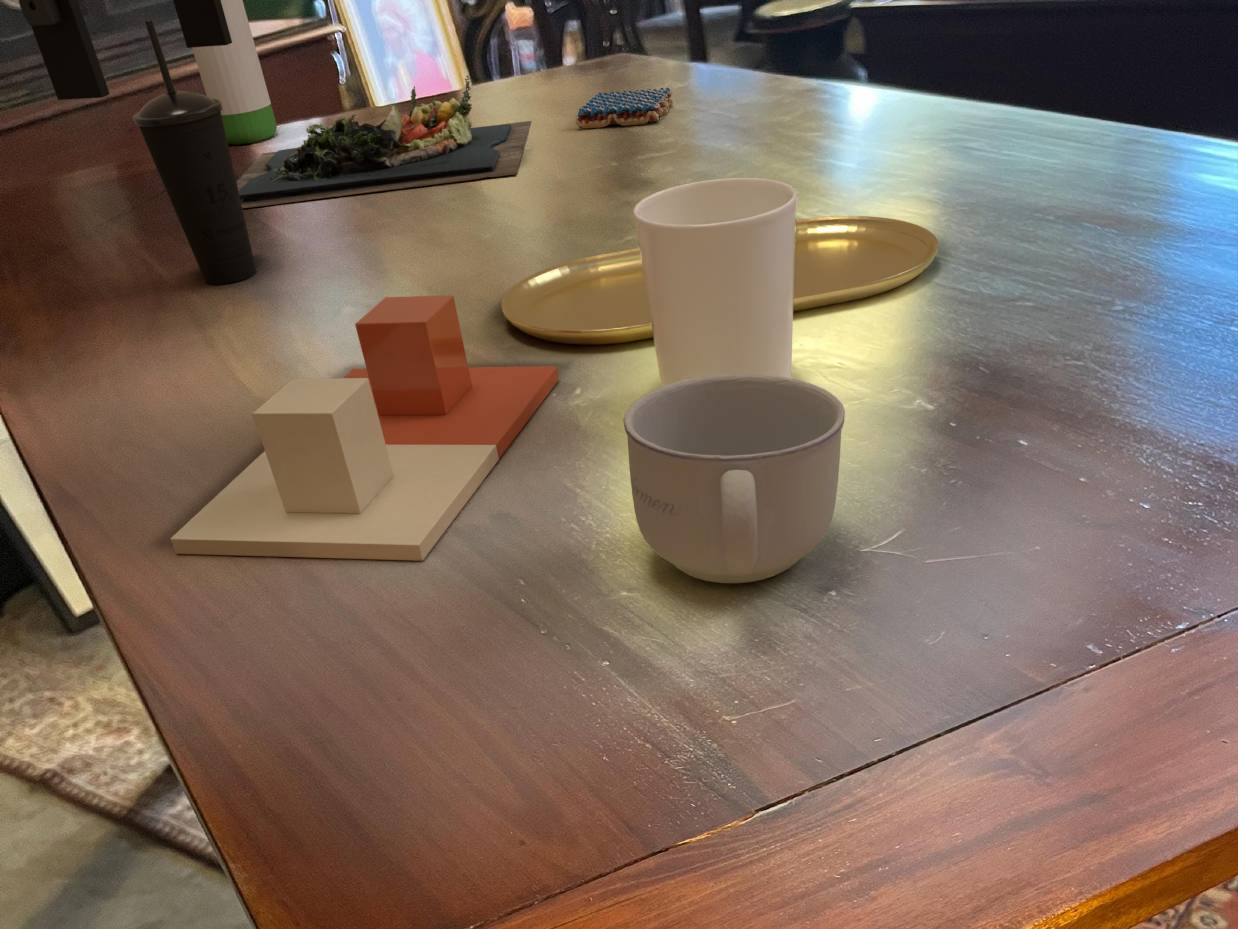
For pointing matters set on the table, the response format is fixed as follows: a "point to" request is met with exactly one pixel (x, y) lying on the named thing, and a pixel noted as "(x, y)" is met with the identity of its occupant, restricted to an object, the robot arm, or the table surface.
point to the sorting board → (407, 505)
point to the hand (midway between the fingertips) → (151, 70)
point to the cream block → (325, 445)
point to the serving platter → (617, 300)
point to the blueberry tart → (624, 108)
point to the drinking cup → (198, 175)
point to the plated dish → (386, 155)
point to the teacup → (734, 472)
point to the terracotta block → (414, 355)
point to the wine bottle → (237, 80)
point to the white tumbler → (720, 276)
